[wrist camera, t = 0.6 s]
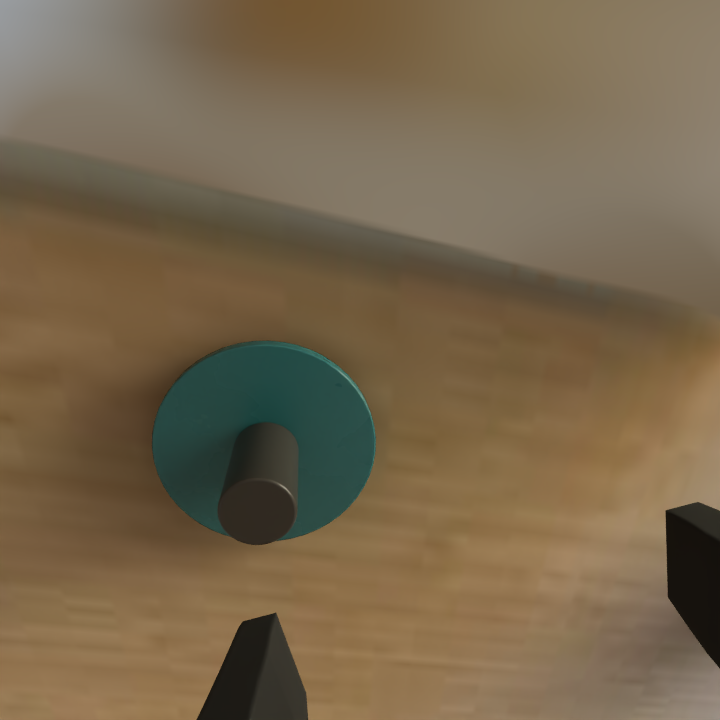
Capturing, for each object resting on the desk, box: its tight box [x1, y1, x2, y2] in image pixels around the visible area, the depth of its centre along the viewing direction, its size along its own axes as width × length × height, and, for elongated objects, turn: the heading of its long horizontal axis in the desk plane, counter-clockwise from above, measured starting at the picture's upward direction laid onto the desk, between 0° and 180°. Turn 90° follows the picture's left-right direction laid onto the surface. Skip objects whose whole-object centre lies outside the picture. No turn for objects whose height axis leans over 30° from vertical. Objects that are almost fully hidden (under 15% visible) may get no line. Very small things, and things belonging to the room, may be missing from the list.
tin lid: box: [152, 341, 376, 545], centre depth 16 cm, size 8×8×5 cm
